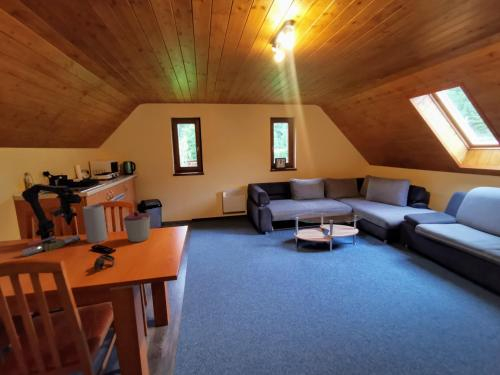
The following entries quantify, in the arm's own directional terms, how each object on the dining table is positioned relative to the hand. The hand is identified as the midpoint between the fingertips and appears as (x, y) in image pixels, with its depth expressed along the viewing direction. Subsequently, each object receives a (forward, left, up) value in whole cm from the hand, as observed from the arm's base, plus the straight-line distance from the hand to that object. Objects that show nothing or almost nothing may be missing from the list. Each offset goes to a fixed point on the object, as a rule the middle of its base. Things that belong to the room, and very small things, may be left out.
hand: (68, 225), depth 181 cm
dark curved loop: (+67, -9, -12) cm, 69 cm away
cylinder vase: (+16, +11, -12) cm, 23 cm away
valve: (+5, -12, -12) cm, 18 cm away
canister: (+43, +27, -12) cm, 52 cm away
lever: (+6, -17, -5) cm, 19 cm away
